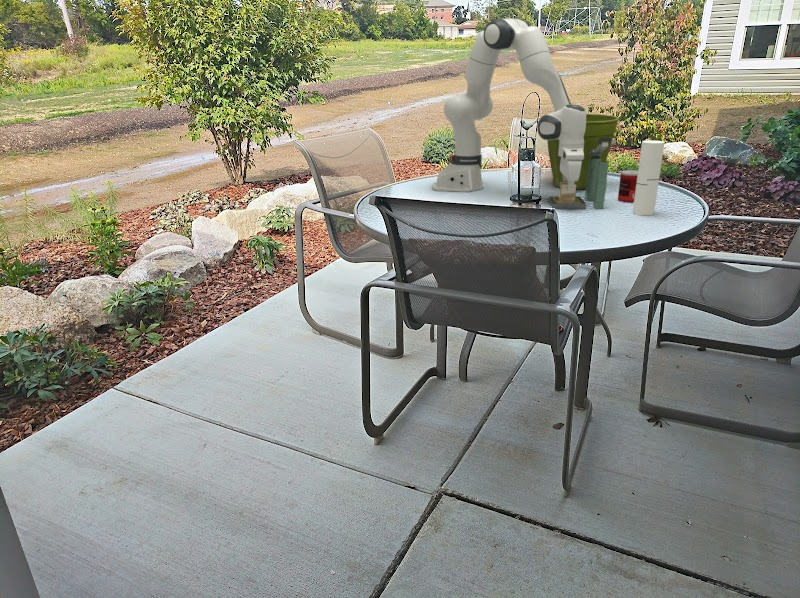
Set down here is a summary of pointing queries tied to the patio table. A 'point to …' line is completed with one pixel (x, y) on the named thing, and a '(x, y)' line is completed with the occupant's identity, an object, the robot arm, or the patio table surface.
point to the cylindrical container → (648, 177)
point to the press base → (588, 187)
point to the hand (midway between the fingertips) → (567, 188)
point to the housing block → (566, 192)
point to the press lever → (600, 147)
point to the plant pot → (594, 131)
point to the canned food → (627, 185)
